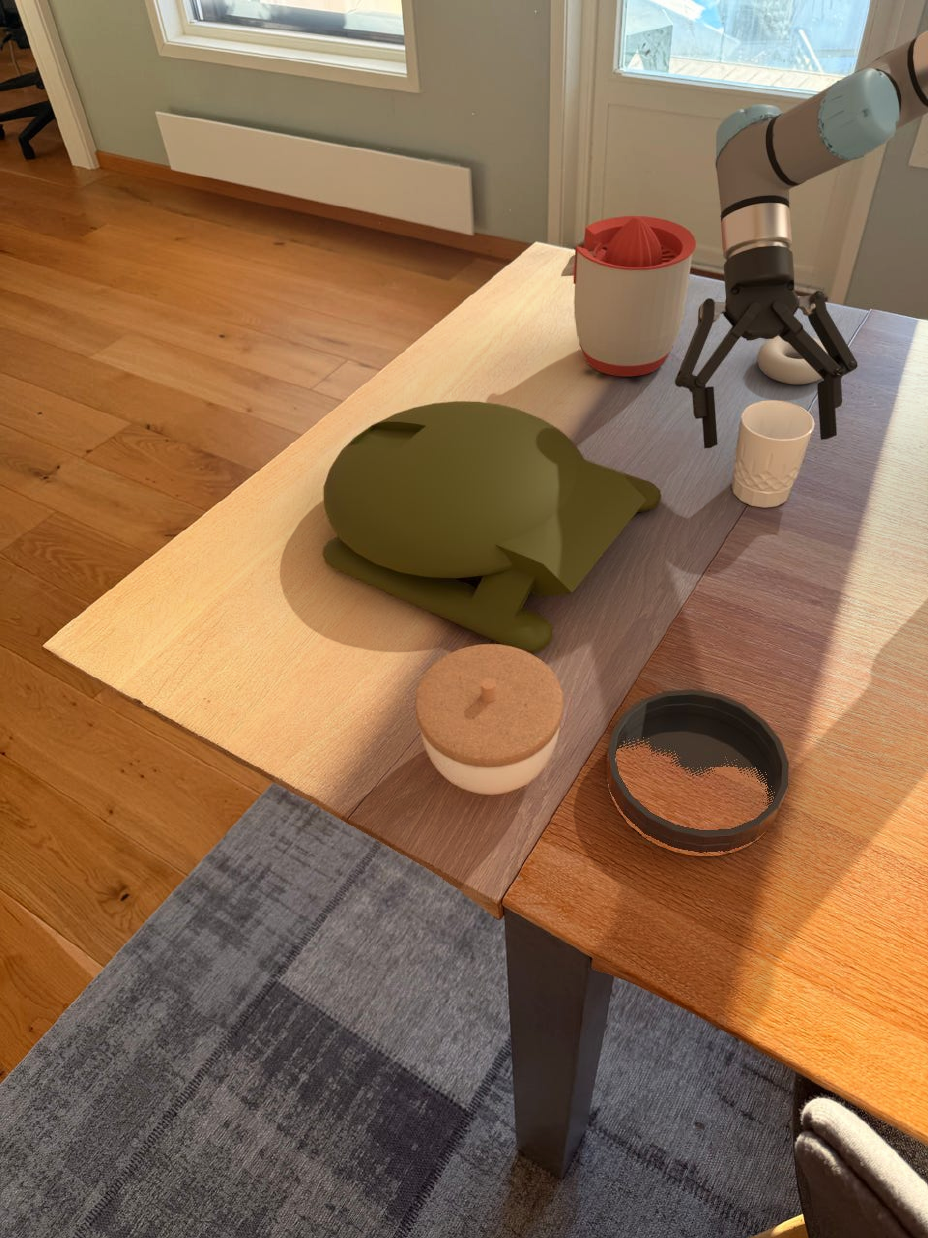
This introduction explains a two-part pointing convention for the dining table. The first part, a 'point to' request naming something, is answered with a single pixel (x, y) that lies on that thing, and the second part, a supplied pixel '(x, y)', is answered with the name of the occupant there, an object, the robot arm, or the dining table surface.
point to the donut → (785, 362)
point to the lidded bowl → (489, 717)
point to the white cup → (770, 451)
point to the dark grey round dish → (700, 759)
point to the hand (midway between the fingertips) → (769, 442)
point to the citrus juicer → (630, 292)
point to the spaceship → (475, 514)
